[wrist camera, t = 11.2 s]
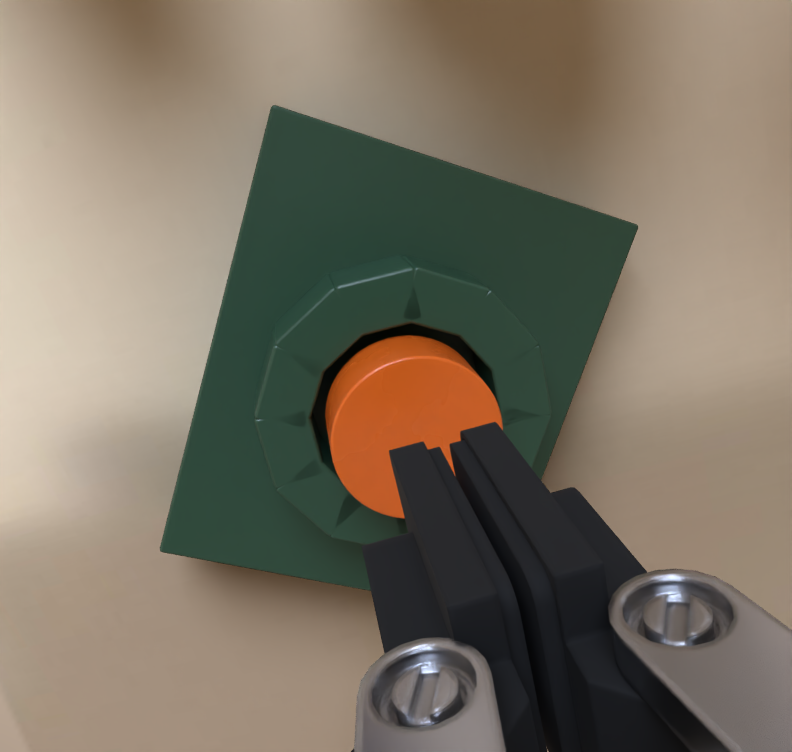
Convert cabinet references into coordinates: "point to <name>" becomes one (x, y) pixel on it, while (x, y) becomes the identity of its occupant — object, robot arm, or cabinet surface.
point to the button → (400, 411)
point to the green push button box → (374, 332)
